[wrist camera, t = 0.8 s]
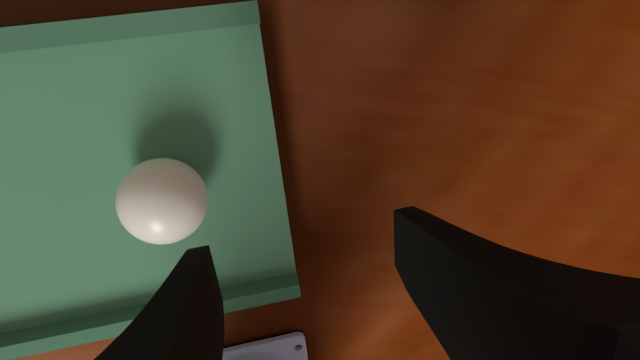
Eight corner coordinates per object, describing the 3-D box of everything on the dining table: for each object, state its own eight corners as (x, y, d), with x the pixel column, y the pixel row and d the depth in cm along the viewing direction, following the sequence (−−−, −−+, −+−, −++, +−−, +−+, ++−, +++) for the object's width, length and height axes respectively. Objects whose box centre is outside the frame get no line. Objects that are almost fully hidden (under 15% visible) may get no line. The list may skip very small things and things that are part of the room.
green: (293, 263, 23) (301, 297, 21) (-184, 359, 20) (-248, 415, 17) (253, 0, 17) (257, 0, 15) (-433, 73, 14) (-590, 90, 11)
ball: (217, 210, 19) (214, 252, 16) (139, 224, 18) (121, 270, 15) (200, 140, 17) (194, 170, 14) (116, 153, 17) (89, 187, 14)
